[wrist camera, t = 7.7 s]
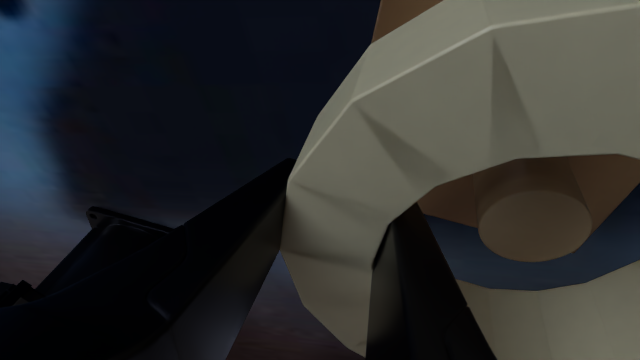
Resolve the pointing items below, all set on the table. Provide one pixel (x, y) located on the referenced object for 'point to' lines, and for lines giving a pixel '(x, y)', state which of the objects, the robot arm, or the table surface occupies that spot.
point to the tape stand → (525, 187)
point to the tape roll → (469, 158)
